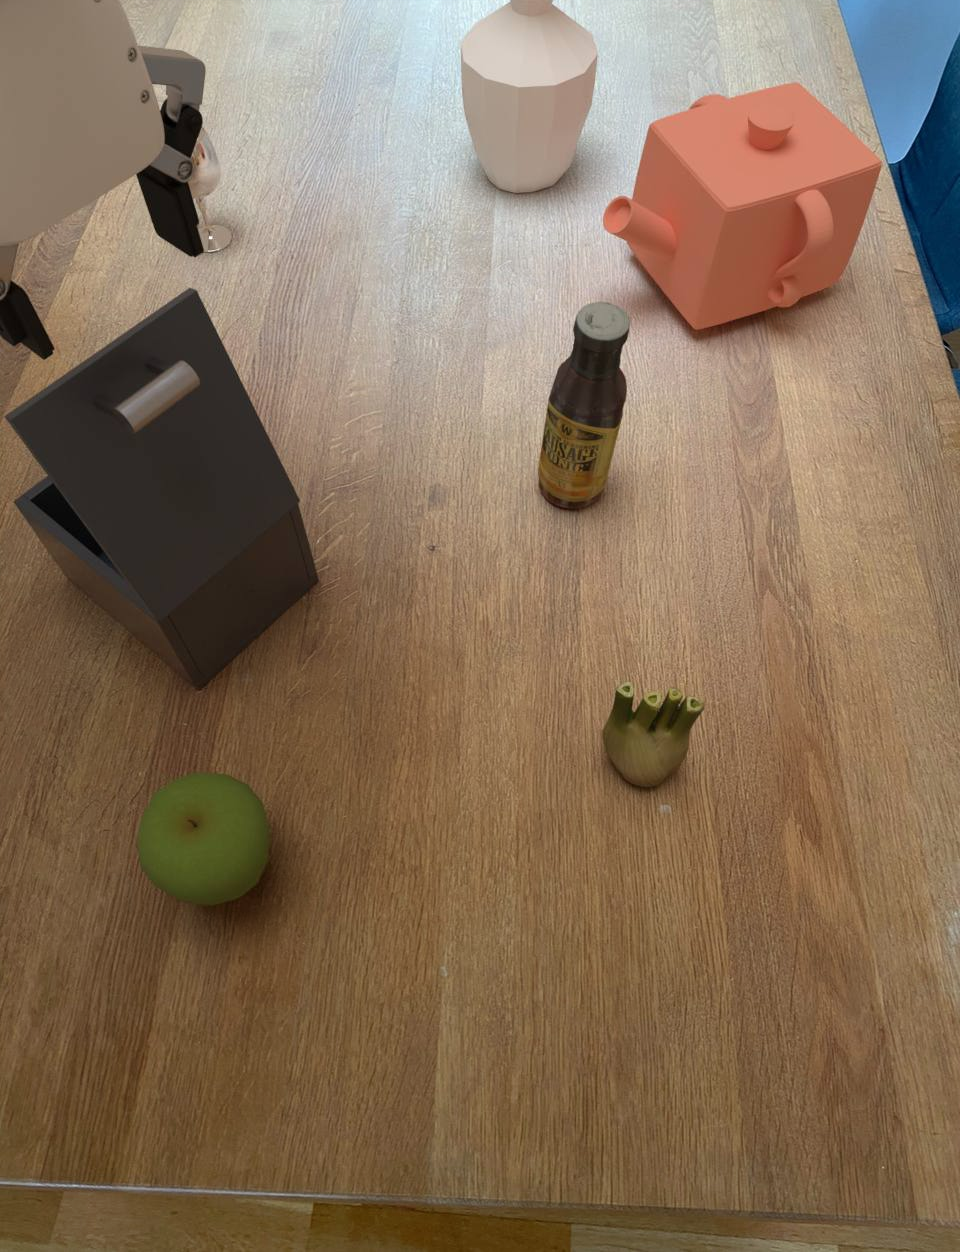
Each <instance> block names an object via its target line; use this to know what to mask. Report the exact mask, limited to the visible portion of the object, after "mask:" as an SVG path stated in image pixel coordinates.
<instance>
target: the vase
mask: <svg viewBox="0 0 960 1252" xmlns="http://www.w3.org/2000/svg"><path fill="white" fill-rule="evenodd" d="M553 1H554V0H509V2H507V3H505V4H504V5H502V6H501V7H499V8H497V9H496V10H494V11H493V12H491V13H489V14H488V15H487V16H484V17H483V18H482V19H480V20H478V21H477V22H475V23H474V24H473V25H472V27H471V28H470V29H469V30H468V31H467V32H466V34H465V35H464V37H462V39H461V40H460V77H461V97H462V104H463V113H464V118H465V121H466V125H467V128H468V133H469V135H470V139H471V143H472V147H473V150H474V153H475V155H476V156H477V158H478V160H479V162H480V164H481V167H482V168H483V170H484V173H485V174H486V176H487V179H488V181H489V182H490V183H491V184H493V185H494V186H495V187H496V188H497V189H499V190H502V191H504V192H505V191H507V192H510V193H513V194H519V193H520V194H523V193H534V192H536V191H540V190H543V189H546V188H549V187H553V186H555V184H556V183H557V182H558V181H559V180H560V178H561V177H562V176H563V175H564V174H565V173H566V171H568V169H569V168H570V167H571V165H572V162H573V160H574V157H575V155H576V150H577V145H578V142H579V139H580V137H581V135H582V131H583V129H584V126H585V123H586V122H587V121H586V120H587V118H588V116H589V113H590V110H591V107H592V104H593V98H594V91H595V84H596V76H597V75H596V74H597V66H598V58H599V53H598V49H597V45H596V42H595V39H594V35H593V33H592V32H591V31H589V30H588V29H586V28H585V27H584V26H582V25H581V24H580V23H578V22H577V21H576V20H574V19H573V18H572V17H570V16H569V15H567V14H566V13H565V12H564V11H563V10H561V9H560V8H559V7H558V6H556V5H554V3H553Z"/></svg>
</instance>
